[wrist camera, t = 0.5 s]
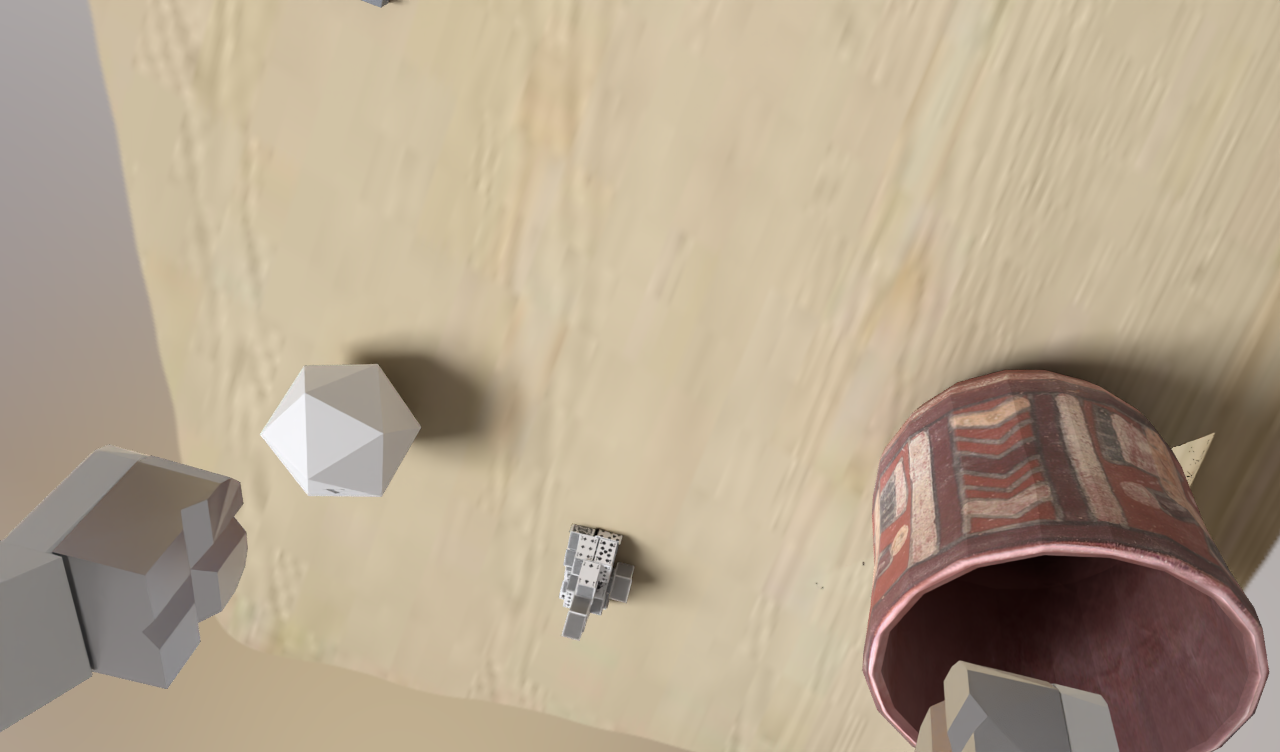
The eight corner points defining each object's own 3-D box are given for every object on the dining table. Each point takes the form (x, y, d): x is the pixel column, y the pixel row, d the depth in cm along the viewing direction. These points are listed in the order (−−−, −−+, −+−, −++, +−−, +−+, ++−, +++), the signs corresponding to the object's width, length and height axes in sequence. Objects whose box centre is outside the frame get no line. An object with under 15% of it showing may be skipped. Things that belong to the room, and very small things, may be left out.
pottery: (1040, 269, 55) (1103, 474, 41) (1232, 458, 60) (1352, 706, 45) (807, 439, 65) (790, 657, 50) (988, 592, 69) (1022, 834, 54)
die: (337, 439, 72) (270, 533, 64) (297, 333, 67) (219, 420, 59) (446, 439, 70) (392, 536, 62) (413, 329, 65) (349, 418, 57)
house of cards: (667, 628, 77) (650, 710, 71) (558, 600, 78) (531, 678, 72) (690, 547, 72) (674, 627, 66) (573, 516, 73) (546, 593, 66)
